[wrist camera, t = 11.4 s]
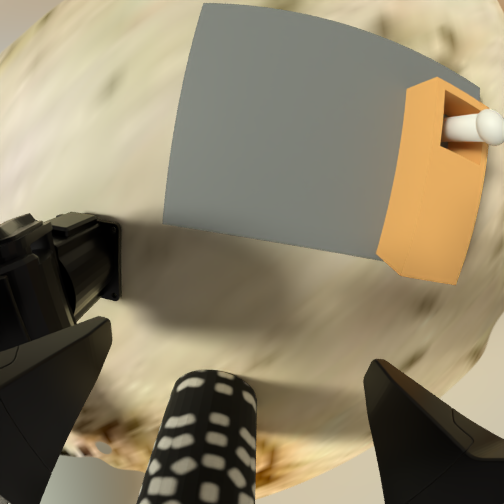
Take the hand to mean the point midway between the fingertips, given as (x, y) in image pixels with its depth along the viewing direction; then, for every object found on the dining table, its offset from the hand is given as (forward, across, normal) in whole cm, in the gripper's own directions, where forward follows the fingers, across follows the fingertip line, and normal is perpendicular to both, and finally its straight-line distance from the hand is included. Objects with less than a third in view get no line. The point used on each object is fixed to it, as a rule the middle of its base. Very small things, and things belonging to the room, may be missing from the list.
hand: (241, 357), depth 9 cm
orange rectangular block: (+10, -11, -7) cm, 17 cm away
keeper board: (+12, -5, -9) cm, 16 cm away
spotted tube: (+12, +1, +16) cm, 20 cm away
